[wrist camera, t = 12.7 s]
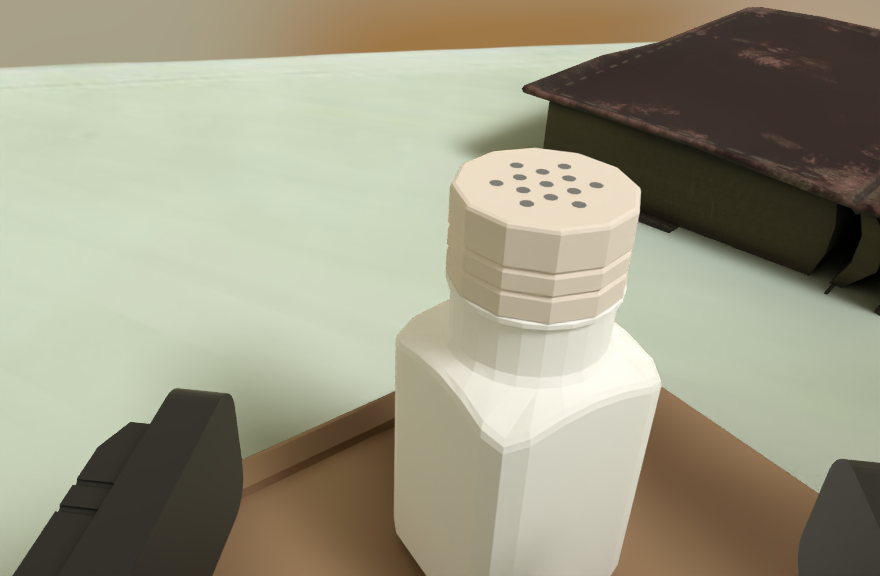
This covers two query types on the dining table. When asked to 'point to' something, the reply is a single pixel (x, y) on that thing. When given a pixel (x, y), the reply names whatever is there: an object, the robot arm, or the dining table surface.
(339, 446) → the walnut board
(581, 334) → the salt shaker
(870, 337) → the dining table surface
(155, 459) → the robot arm
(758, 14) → the diary
